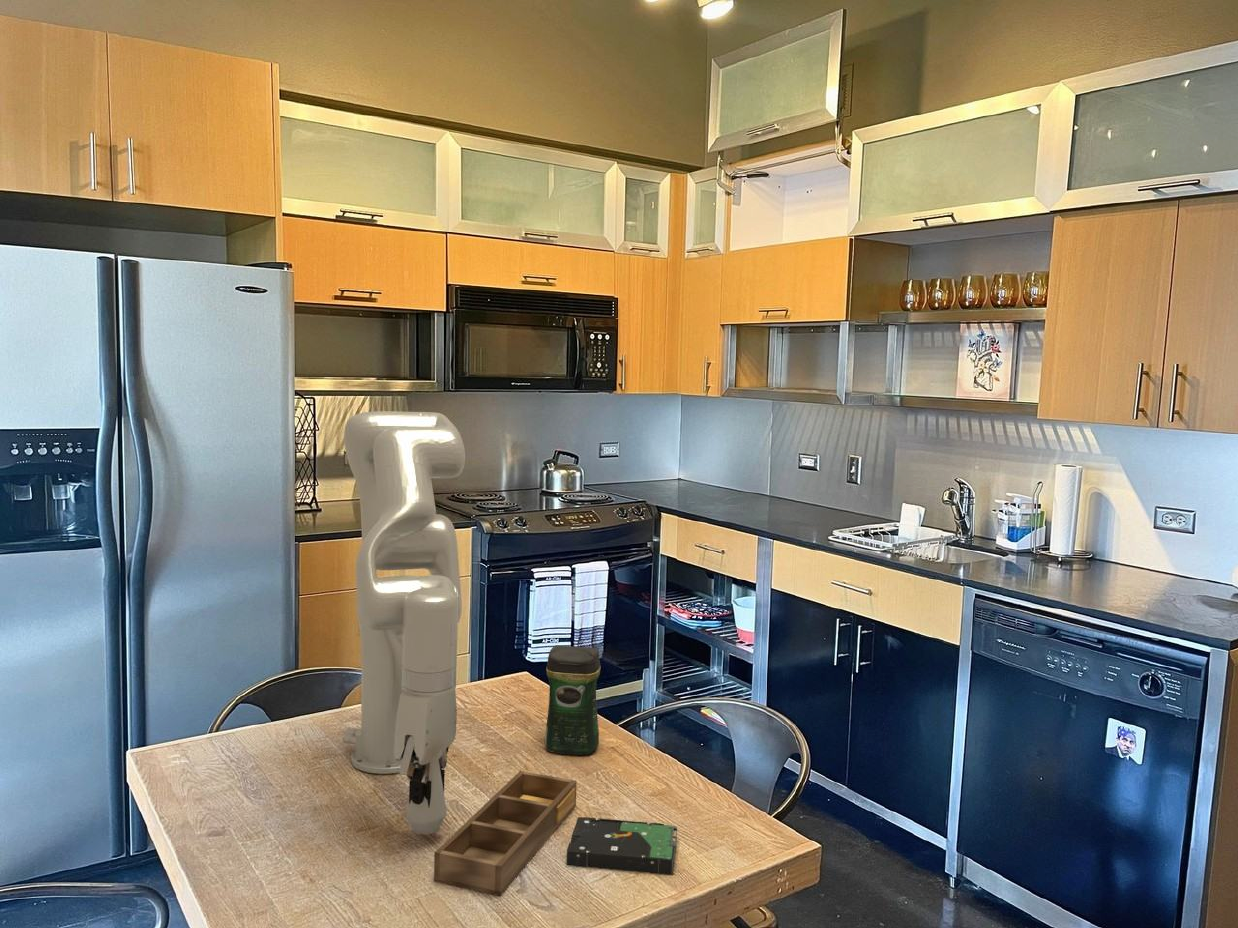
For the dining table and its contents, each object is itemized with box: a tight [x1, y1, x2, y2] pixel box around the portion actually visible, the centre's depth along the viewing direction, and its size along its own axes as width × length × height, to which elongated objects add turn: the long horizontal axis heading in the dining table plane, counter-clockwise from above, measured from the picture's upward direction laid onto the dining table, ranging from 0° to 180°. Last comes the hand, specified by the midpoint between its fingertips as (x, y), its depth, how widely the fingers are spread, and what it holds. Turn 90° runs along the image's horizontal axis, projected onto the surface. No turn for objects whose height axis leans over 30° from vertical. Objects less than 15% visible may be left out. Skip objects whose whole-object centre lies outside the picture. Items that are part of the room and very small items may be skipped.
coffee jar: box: [544, 644, 601, 756], centre depth 166 cm, size 10×8×19 cm
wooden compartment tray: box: [433, 770, 578, 897], centre depth 133 cm, size 10×27×4 cm, turn 162°
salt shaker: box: [405, 750, 448, 836], centre depth 132 cm, size 6×6×13 cm
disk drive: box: [565, 816, 678, 876], centre depth 131 cm, size 10×3×15 cm
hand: (426, 799), depth 132 cm, fingers closed on salt shaker, 3 cm apart
